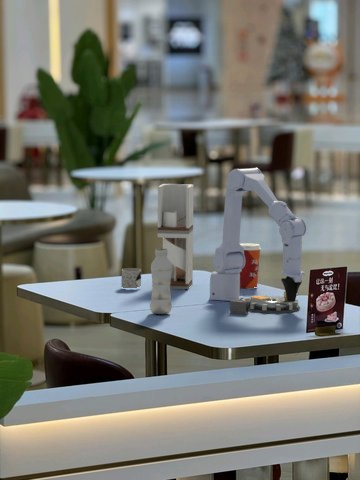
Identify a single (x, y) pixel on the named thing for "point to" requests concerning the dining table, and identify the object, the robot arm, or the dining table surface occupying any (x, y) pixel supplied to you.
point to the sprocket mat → (274, 310)
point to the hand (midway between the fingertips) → (291, 301)
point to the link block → (239, 307)
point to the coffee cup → (250, 266)
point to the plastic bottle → (161, 282)
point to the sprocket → (271, 303)
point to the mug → (131, 278)
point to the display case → (177, 230)
